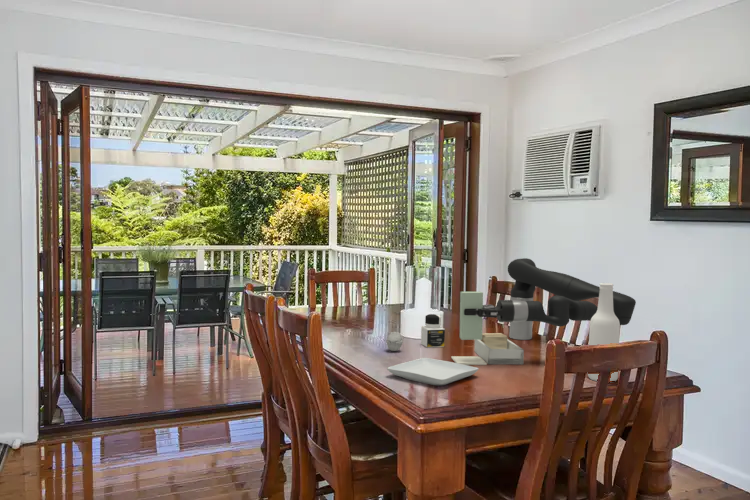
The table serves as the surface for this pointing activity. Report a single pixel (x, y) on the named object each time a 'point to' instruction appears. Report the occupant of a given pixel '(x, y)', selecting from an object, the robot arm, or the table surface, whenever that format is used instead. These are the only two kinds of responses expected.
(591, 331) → the alcohol
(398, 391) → the table surface
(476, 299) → the board
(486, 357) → the tray
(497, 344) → the offcut lower
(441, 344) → the medicine bottle
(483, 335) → the offcut upper
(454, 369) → the salad plate
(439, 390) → the table surface
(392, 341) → the frog figurine
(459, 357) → the pad
